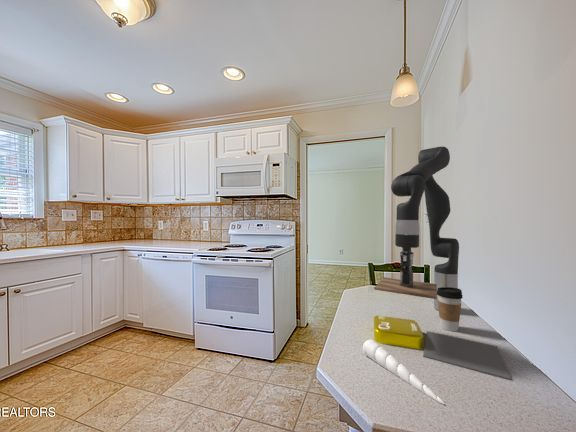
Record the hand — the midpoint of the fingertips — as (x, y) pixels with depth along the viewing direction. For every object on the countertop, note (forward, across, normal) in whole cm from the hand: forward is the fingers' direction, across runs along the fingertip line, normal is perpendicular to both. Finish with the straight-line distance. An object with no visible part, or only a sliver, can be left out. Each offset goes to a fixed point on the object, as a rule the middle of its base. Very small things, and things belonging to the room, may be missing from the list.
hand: (406, 282), depth 87 cm
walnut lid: (+2, 0, 0) cm, 2 cm away
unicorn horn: (+20, +23, 0) cm, 30 cm away
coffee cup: (+20, -19, +13) cm, 30 cm away
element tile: (+20, 0, -3) cm, 20 cm away
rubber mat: (+19, 0, +16) cm, 25 cm away
